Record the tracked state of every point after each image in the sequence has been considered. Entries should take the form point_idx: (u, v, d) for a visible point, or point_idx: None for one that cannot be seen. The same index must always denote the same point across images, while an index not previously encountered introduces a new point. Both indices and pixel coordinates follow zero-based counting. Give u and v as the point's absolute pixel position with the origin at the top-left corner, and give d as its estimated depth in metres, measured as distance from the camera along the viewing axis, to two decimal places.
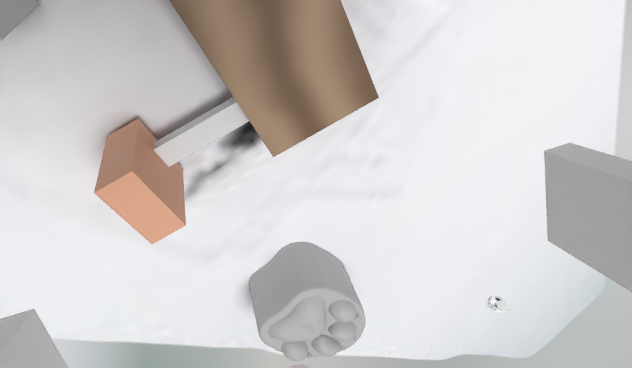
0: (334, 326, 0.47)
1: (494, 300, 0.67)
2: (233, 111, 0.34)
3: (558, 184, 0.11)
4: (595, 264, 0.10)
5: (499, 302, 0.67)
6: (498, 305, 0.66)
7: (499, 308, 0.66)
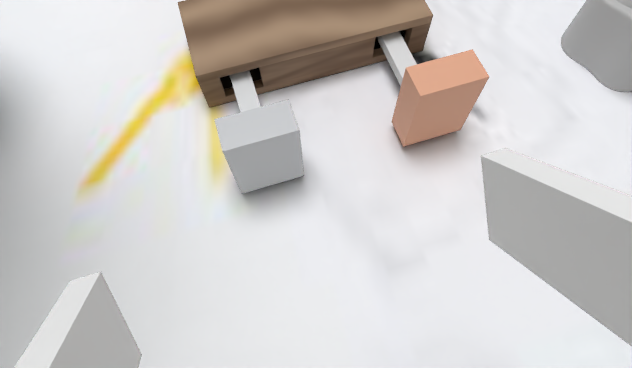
0: None
1: None
2: (392, 46, 0.43)
3: (493, 187, 0.11)
4: (525, 262, 0.11)
5: None
6: None
7: None
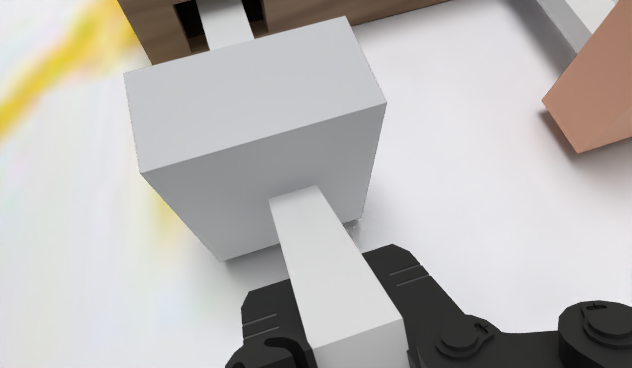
0: None
1: None
2: None
3: None
4: None
5: None
6: None
7: None
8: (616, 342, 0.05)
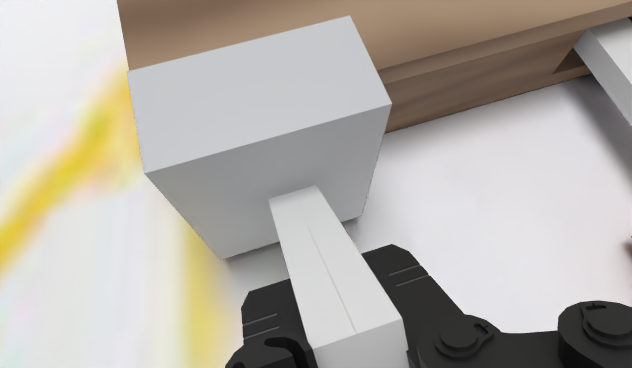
0: None
1: None
2: (619, 50, 0.18)
3: None
4: None
5: None
6: None
7: None
8: (616, 342, 0.05)
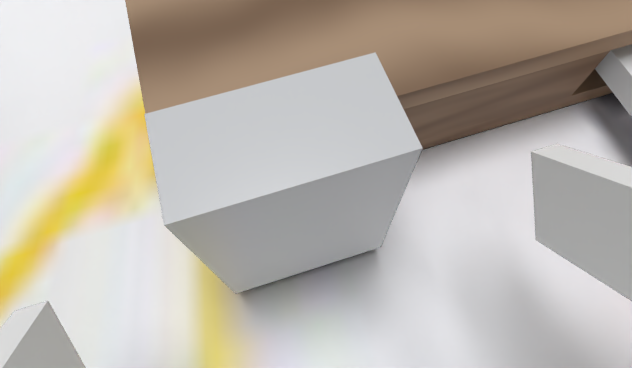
0: None
1: None
2: None
3: (545, 184, 0.11)
4: (580, 263, 0.10)
5: None
6: None
7: None
8: None
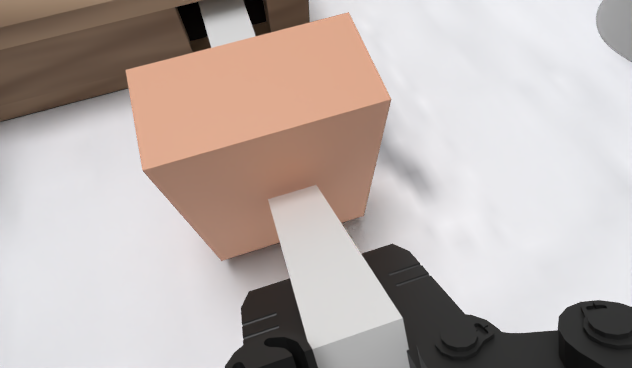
0: None
1: None
2: (216, 20, 0.19)
3: None
4: None
5: None
6: None
7: None
8: (616, 342, 0.05)
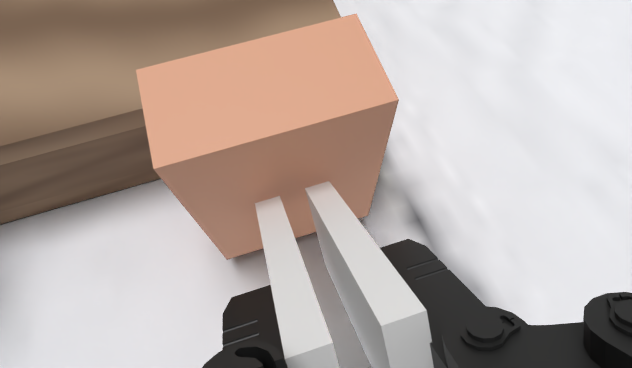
0: None
1: None
2: None
3: (314, 218, 0.12)
4: (337, 289, 0.12)
5: None
6: None
7: None
8: None
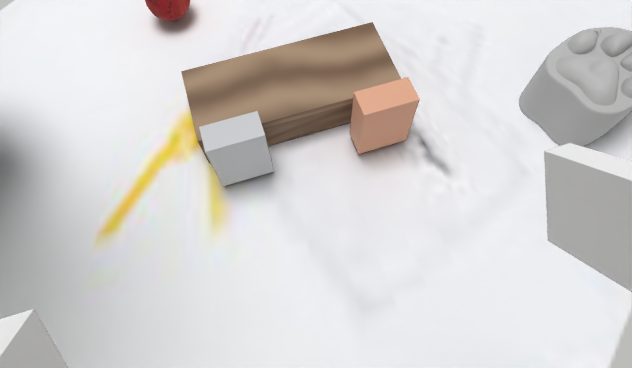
0: (606, 49, 0.47)
1: None
2: None
3: (558, 184, 0.11)
4: (595, 264, 0.10)
5: None
6: None
7: None
8: None
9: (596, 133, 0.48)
